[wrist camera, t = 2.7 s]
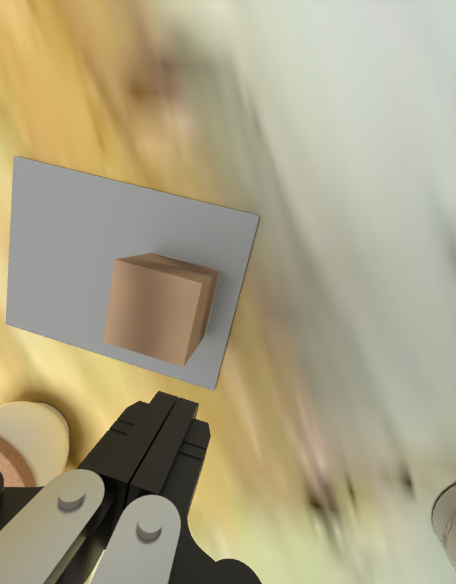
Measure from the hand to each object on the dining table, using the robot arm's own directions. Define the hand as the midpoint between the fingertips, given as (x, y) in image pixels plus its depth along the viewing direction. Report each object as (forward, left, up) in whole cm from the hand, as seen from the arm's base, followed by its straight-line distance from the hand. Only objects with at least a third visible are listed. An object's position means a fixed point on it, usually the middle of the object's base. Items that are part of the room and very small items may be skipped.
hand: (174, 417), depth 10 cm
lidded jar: (+17, +19, -15) cm, 30 cm away
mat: (+11, 0, -15) cm, 18 cm away
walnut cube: (+5, 0, -15) cm, 15 cm away
